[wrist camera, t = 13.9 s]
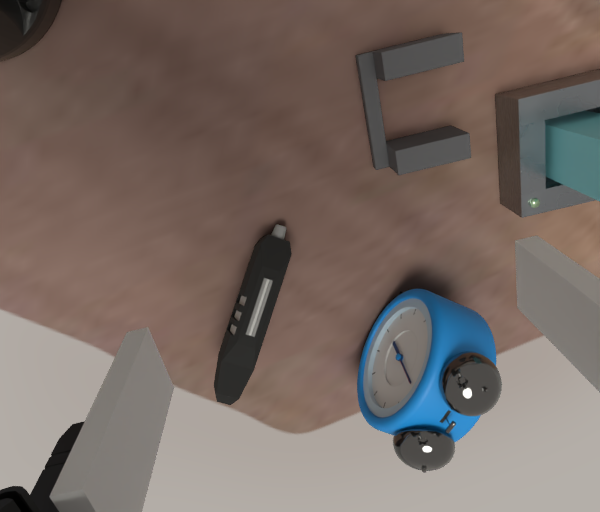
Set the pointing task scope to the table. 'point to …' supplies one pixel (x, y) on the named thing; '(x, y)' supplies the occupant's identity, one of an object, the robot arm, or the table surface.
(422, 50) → the grey u-shaped bracket
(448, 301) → the alarm clock
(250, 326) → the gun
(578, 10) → the table surface
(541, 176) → the port panel
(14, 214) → the table surface
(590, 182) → the plug
